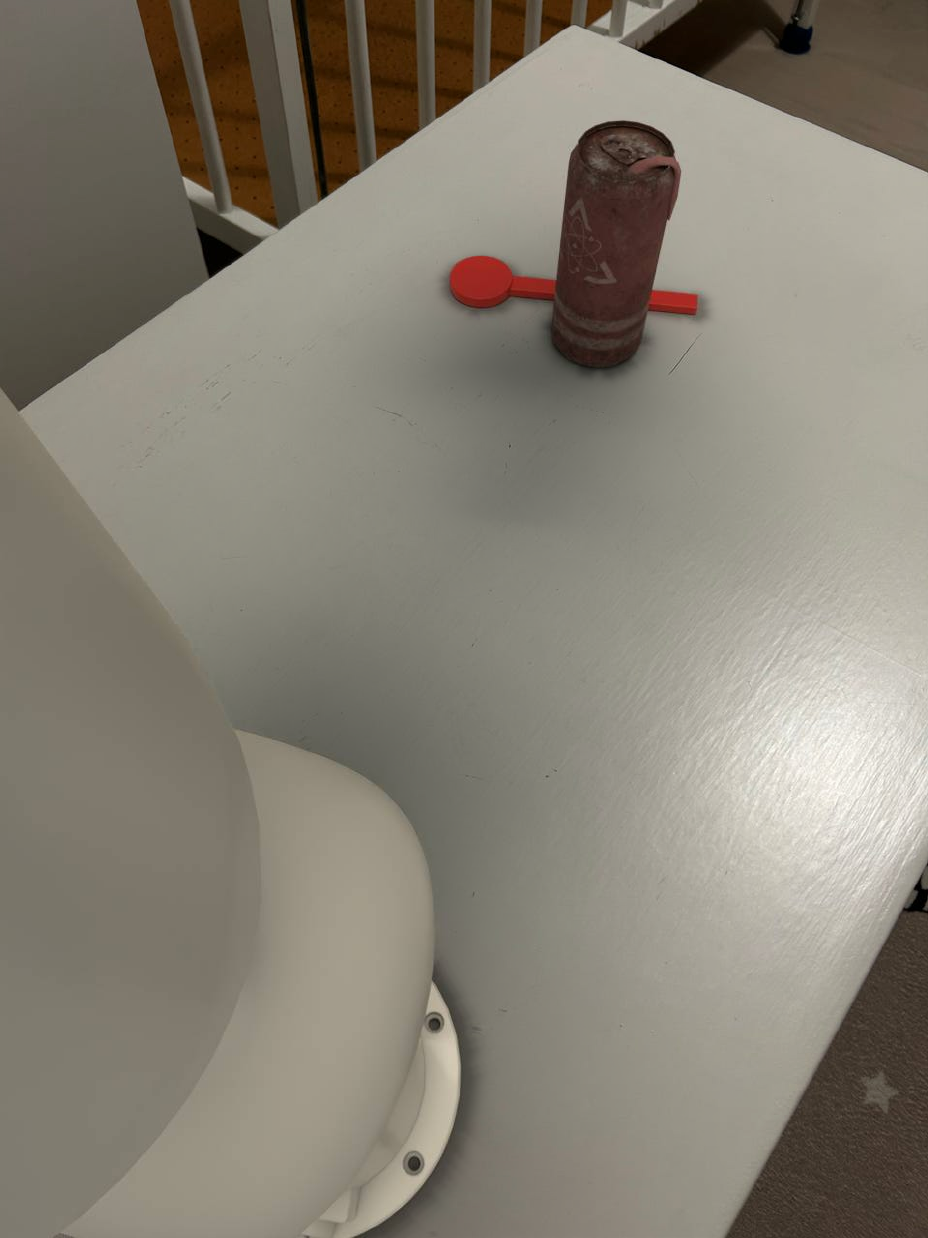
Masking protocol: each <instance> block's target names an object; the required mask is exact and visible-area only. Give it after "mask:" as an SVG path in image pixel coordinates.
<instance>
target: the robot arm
mask: <svg viewBox="0 0 928 1238" xmlns="http://www.w3.org/2000/svg"><path fill="white" fill-rule="evenodd" d="M47 449H48V448H46V447H45V445H44V444H43V443H42V441H41V440H40V439H39V437H38V436H37V434H36V433H35V432H34V431H33V429H32V427H31V426H30V425H29V424H28V422H27V421H26V420H25V418H24V417H23V416H22V414H21V413H20V412H19V410H18V409H17V408H16V407H15V405H14V403H13V402H12V401H11V399H10V398H9V397H8V396H7V394H6V392H4V390H3V389H2V388H1V387H0V1238H55V1236H57V1235H58V1234H61V1235H66V1236H69V1237H72V1238H355V1237H357V1236H359V1235H362V1234H364V1233H366V1232H368V1231H370V1230H371V1229H373V1228H375V1227H378V1226H379V1225H381V1224H382V1223H383V1222H385V1221H387V1220H388V1219H390V1218H391V1217H393V1216H394V1215H395V1214H397V1212H398V1211H399V1210H401V1209H402V1208H403V1207H404V1206H406V1205H407V1203H408V1202H409V1201H411V1199H413V1197H415V1196H416V1194H417V1193H418V1192H419V1190H420V1189H421V1188H422V1187H423V1185H424V1184H425V1183H426V1182H427V1180H428V1179H429V1177H430V1176H431V1175H432V1173H433V1172H434V1171H435V1169H436V1166H437V1164H438V1163H439V1161H440V1159H441V1157H442V1155H443V1153H444V1152H445V1149H446V1147H447V1146H448V1143H449V1140H450V1137H451V1134H452V1131H453V1128H454V1125H455V1122H456V1118H457V1114H458V1110H459V1109H458V1108H459V1103H460V1097H461V1086H462V1074H461V1072H462V1071H461V1070H462V1063H461V1062H462V1061H461V1052H460V1046H459V1039H458V1035H457V1032H456V1029H455V1026H454V1022H453V1020H452V1016H451V1013H450V1010H449V1007H448V1005H447V1003H446V1002H445V1000H444V998H443V996H442V994H441V992H440V990H439V989H438V987H437V985H436V983H435V982H434V981H433V973H434V966H435V953H436V952H435V949H436V948H435V947H436V921H435V905H434V904H435V903H434V894H433V889H432V887H433V886H432V880H431V873H430V869H429V866H428V862H427V858H426V855H425V852H424V849H423V846H422V844H421V841H420V839H419V837H418V835H417V832H416V830H415V828H414V827H413V825H412V824H411V822H410V820H409V819H408V817H407V816H406V814H405V813H404V811H403V809H401V807H400V806H399V805H398V804H397V803H396V802H395V800H393V799H392V798H391V796H389V794H387V793H386V792H385V791H384V790H383V789H382V788H381V787H380V786H378V785H376V784H375V783H374V782H372V781H371V780H369V779H368V778H366V777H365V776H363V775H362V774H360V773H358V772H356V771H354V770H353V769H352V768H349V767H347V766H345V765H343V764H341V763H339V762H337V761H335V760H333V759H330V758H327V757H325V756H323V755H319V754H317V753H314V752H312V751H308V750H307V749H306V750H305V749H303V748H300V747H297V746H294V745H292V744H289V743H285V742H282V741H280V740H276V739H273V738H270V737H269V738H268V737H266V736H262V735H259V734H254V733H251V732H247V731H244V730H240V729H236V728H234V727H233V725H232V723H231V721H230V718H229V717H228V715H227V713H226V712H227V711H225V708H224V706H223V704H222V701H221V700H220V698H219V695H218V693H217V692H216V689H215V687H214V685H213V683H212V681H211V678H210V677H209V674H208V673H207V670H206V668H205V666H204V665H203V663H202V660H201V659H200V657H199V656H198V654H197V653H196V651H195V649H194V648H193V646H192V644H191V642H190V641H189V640H188V638H187V637H186V635H185V634H184V633H183V631H182V630H181V628H180V627H179V625H178V624H177V623H176V622H175V620H174V619H173V618H172V616H171V615H170V613H169V611H168V610H167V609H166V608H165V607H164V605H163V604H162V603H161V601H160V599H159V598H158V596H156V594H155V592H153V590H152V589H151V587H150V586H149V585H148V583H147V582H146V581H145V579H144V578H143V576H142V575H141V574H140V573H139V572H138V570H137V569H136V567H135V566H134V564H133V563H132V562H131V560H130V559H129V558H128V557H127V555H126V553H124V552H123V550H122V548H121V547H120V546H119V545H118V543H117V542H116V541H115V539H114V538H113V537H112V535H111V534H110V532H109V531H108V530H107V529H106V527H105V526H104V524H103V523H102V522H101V520H100V519H99V518H98V516H97V515H96V514H95V512H94V511H93V509H92V508H91V507H90V506H89V505H88V503H87V502H86V500H85V499H84V498H83V496H82V495H81V493H79V491H78V489H77V488H76V487H75V486H74V484H73V483H72V482H71V480H70V478H69V477H68V475H66V473H65V472H64V471H63V469H62V468H61V467H60V466H59V464H58V463H57V461H56V460H55V459H54V457H53V456H52V455H51V453H50V451H49V450H47ZM433 1020H437V1021H438V1022H439V1023H440V1025H439V1027H438V1029H436V1030H432V1029H431V1028H430V1027H429V1026H430V1025H429V1024H430V1022H431V1021H433ZM415 1157H416V1158H418V1159H419V1163H420V1165H419V1168H418V1169H416V1170H412V1169H411V1168H410V1166H409V1162H410V1160H411V1159H412V1158H415Z"/></svg>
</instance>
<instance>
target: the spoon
mask: <svg viewBox="0 0 928 1238" xmlns="http://www.w3.org/2000/svg"><path fill="white" fill-rule="evenodd" d="M555 285H556V279H549V278H540V277H539V278H538V277H529V276H520V275H513V273H512V270H511V268H510V267H509V266H508V265H507V263H505V262H504V261H502V260H501V259H498V258H496V257H494V256H489V255H474V256H468V257H466V258H464V259H461V260H460V261H458V262H457V263H456V264H455V265H453V267H452V269H451V271H450V273H449V290H450V292H451V294H452V296H453V297H454V298H455V299H456V300H458V301H459V302H460V303H462V304H464V305H466V306H468V307H469V306H470V307H474V308H490V307H494V306H497V305H499V304H501V303H503V302H504V301H506V300H507V299H508V298H509V296H512V297H521V298H522V297H523V298H532V299H540V300H541V299H543V300H550V301H551V300H552V301H554V294H555ZM697 310H698V294H696V293H687V292H676V291H667V290H657V289H652V293H651V297H650V302H649V306H648V311H657V312H669V313H676V314H684V315H685V314H687V315H696V313H697Z"/></svg>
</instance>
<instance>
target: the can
mask: <svg viewBox="0 0 928 1238" xmlns="http://www.w3.org/2000/svg"><path fill="white" fill-rule="evenodd" d="M675 153H676V150H675V147H674V145H673V143H672V141H671V140H670V139H669V137H668V136H667V135H666V134H665V133H664V132H662V131H660V130H659V129H657V128H656V127H654V126H651V125H648V124H645V123H642V122H639V121H634V120H633V121H632V120H625V119H622V120H620V119H619V120H609V121H608V120H607V121H605V122H602V123H597V124H595V125H593V126H592V127H589V128H588V129H587V130H585V131H584V132H583V133H582V135H581V136H580V137H579V138H578V140H577V144H576V146H575V147H574V148H573V149H572V151H571V152H570V154H569V155H570V156H569V160H568V168H567V176H566V184H565V193H564V204H563V211H562V221H561V232H560V240H559V250H558V260H557V268H556V276H555V280H556V285H555V294H554V300H553V305H552V314H551V321H550V323H551V324H550V334H551V338H552V342H553V343H554V344H555V346H556V347H557V349H558V350H559V351H560V354H562V356H564V357H565V358H567V359H568V360H570V362H572V363H575V364H578V365H580V366H583V367H588V368H595V369H596V368H597V369H599V368H610V367H613V366H616V365H618V364H621V363H623V362H624V361H625V360H626V359H628V358H629V357H630V356H632V355H633V354H634V353H635V352H636V351H637V350H638V348H639V347H640V345H641V343H642V339H643V334H644V329H645V326H646V325H645V324H646V320H647V316H648V315H647V314H648V311H649V310H648V306H649V302H650V297H651V293H652V290H653V288H654V284H655V279H656V274H657V270H658V265H659V260H660V256H661V252H662V247H663V241H664V237H665V234H666V233H665V232H666V227H667V223H668V222H669V221H670V220H671V218H672V214H673V212H674V209H675V207H676V202H677V201H678V197H679V191H680V183H681V176H682V169H681V165H680V163H679V161H678V160H677V159H676V156H675Z"/></svg>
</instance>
